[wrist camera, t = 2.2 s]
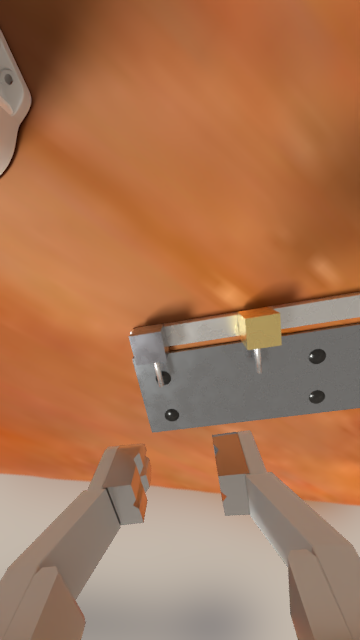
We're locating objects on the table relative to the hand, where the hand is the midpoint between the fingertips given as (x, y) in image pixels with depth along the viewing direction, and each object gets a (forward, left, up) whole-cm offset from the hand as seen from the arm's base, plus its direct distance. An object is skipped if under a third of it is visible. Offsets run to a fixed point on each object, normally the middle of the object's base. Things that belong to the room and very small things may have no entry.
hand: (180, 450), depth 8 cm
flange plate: (+12, +9, -21) cm, 26 cm away
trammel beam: (+5, +9, -21) cm, 23 cm away
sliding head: (+4, +9, -19) cm, 22 cm away
